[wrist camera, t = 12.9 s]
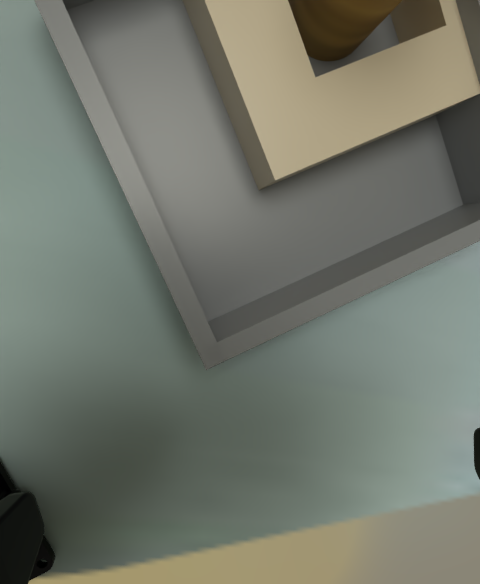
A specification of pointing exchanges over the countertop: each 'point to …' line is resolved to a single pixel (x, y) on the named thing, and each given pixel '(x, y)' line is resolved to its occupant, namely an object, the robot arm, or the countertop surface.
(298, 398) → the countertop surface
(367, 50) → the bore box
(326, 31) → the peg
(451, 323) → the countertop surface
